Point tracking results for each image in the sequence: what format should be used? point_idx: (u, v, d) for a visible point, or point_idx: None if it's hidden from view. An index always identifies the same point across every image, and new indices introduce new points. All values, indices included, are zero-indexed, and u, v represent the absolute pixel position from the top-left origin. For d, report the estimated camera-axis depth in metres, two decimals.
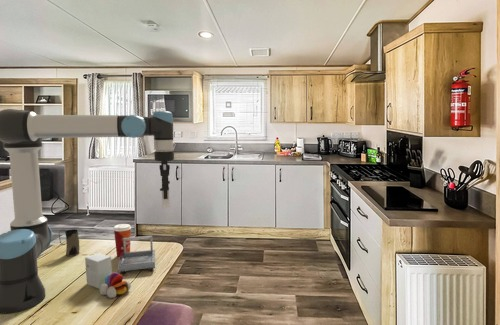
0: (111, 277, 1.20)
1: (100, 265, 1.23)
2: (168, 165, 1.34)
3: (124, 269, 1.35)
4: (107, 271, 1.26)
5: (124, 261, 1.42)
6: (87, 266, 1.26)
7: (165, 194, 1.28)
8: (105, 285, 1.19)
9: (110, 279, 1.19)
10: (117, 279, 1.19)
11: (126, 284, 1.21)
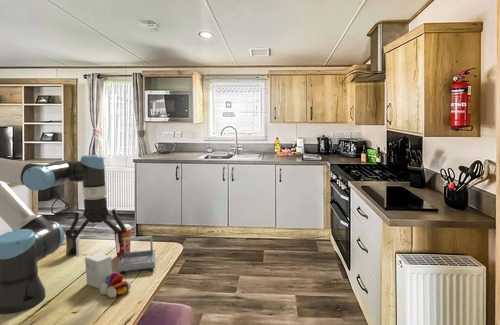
0: (111, 277, 1.20)
1: (100, 265, 1.23)
2: (91, 214, 1.23)
3: (124, 269, 1.35)
4: (107, 271, 1.26)
5: (124, 261, 1.42)
6: (87, 266, 1.26)
7: None
8: (105, 285, 1.19)
9: (110, 279, 1.19)
10: (117, 279, 1.19)
11: (126, 284, 1.21)
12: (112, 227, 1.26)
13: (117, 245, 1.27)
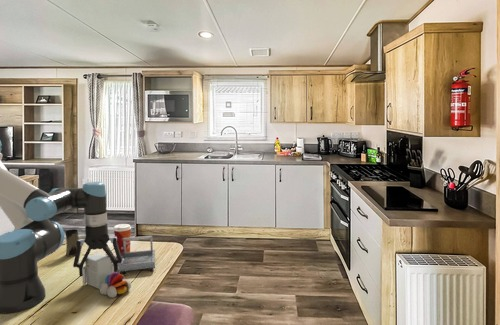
0: (111, 277, 1.20)
1: (100, 265, 1.23)
2: (92, 241, 1.24)
3: (124, 269, 1.35)
4: (107, 271, 1.26)
5: (124, 261, 1.42)
6: (87, 266, 1.26)
7: None
8: (105, 285, 1.19)
9: (110, 278, 1.19)
10: (117, 279, 1.19)
11: (126, 284, 1.21)
12: (109, 256, 1.26)
13: None
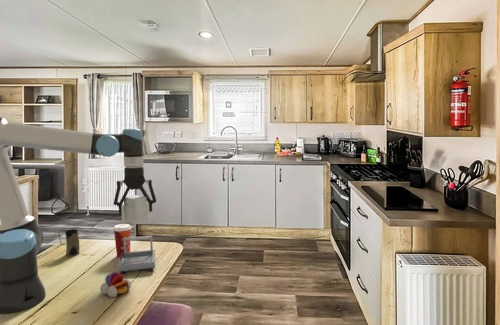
0: (112, 276, 1.20)
1: (138, 203, 1.37)
2: (130, 181, 1.38)
3: (124, 269, 1.35)
4: (144, 209, 1.40)
5: (124, 261, 1.42)
6: (125, 205, 1.40)
7: None
8: (106, 284, 1.19)
9: (110, 278, 1.20)
10: (118, 278, 1.20)
11: (126, 283, 1.22)
12: (145, 196, 1.40)
13: (148, 213, 1.41)
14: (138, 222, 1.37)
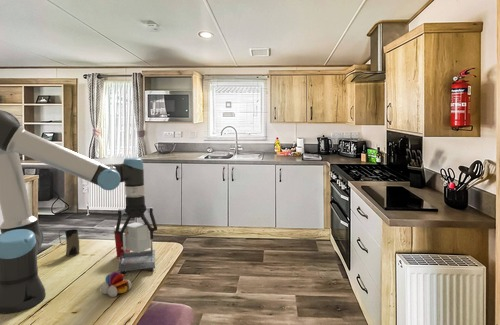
0: (112, 276, 1.20)
1: (139, 231, 1.38)
2: (131, 210, 1.39)
3: (124, 269, 1.35)
4: (145, 237, 1.41)
5: (124, 261, 1.42)
6: (127, 233, 1.41)
7: (120, 237, 1.40)
8: (106, 284, 1.19)
9: (110, 278, 1.20)
10: (118, 278, 1.20)
11: (127, 283, 1.22)
12: (146, 224, 1.41)
13: (149, 241, 1.42)
14: (139, 250, 1.39)
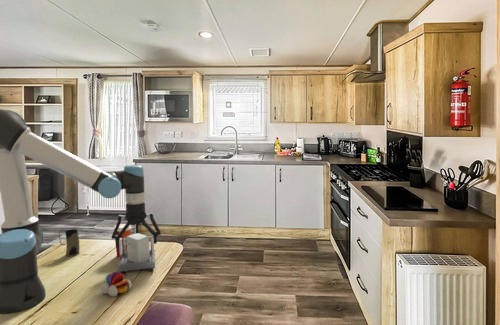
0: (112, 276, 1.20)
1: (140, 243, 1.39)
2: (132, 217, 1.39)
3: (124, 269, 1.35)
4: (146, 249, 1.41)
5: (124, 261, 1.42)
6: (128, 244, 1.42)
7: None
8: (106, 284, 1.20)
9: (111, 278, 1.20)
10: (118, 278, 1.20)
11: (127, 283, 1.22)
12: (149, 229, 1.42)
13: (153, 245, 1.43)
14: None
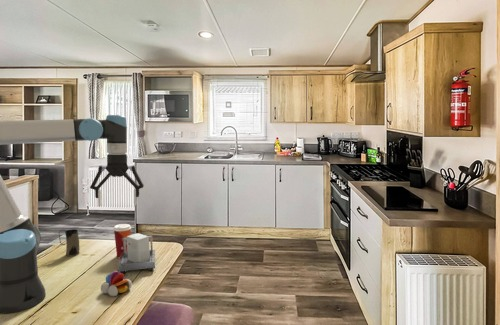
0: (112, 276, 1.21)
1: (140, 243, 1.39)
2: (113, 168, 1.36)
3: (124, 269, 1.35)
4: (146, 249, 1.41)
5: (124, 261, 1.42)
6: (128, 244, 1.42)
7: None
8: (106, 284, 1.20)
9: (111, 278, 1.20)
10: (118, 278, 1.20)
11: (127, 282, 1.22)
12: (131, 182, 1.39)
13: (134, 198, 1.39)
14: None
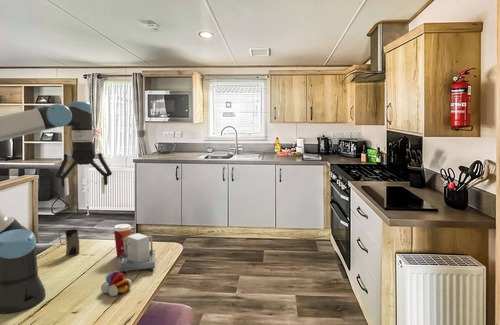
0: (112, 276, 1.21)
1: (140, 243, 1.39)
2: (79, 156, 1.34)
3: (124, 269, 1.35)
4: (146, 249, 1.41)
5: (124, 261, 1.42)
6: (128, 244, 1.42)
7: None
8: (106, 283, 1.20)
9: (111, 277, 1.20)
10: (118, 277, 1.20)
11: (127, 282, 1.22)
12: (98, 169, 1.36)
13: (103, 186, 1.37)
14: None
